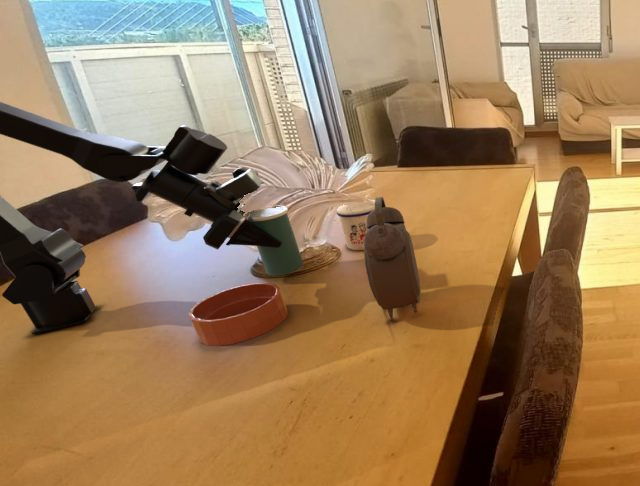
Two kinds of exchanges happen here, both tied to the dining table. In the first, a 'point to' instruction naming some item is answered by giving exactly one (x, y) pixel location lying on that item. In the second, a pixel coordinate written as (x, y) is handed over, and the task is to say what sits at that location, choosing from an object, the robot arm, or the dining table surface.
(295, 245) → the green canister
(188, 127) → the robot arm
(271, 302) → the bowl
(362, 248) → the teacup with lid
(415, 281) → the alarm clock
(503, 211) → the dining table surface
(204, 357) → the dining table surface
